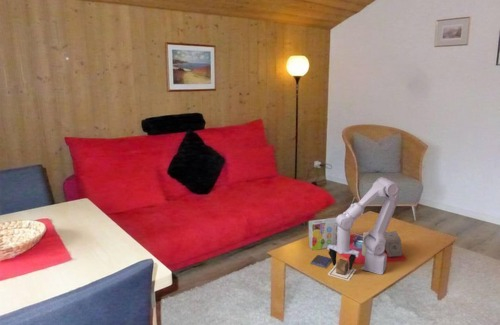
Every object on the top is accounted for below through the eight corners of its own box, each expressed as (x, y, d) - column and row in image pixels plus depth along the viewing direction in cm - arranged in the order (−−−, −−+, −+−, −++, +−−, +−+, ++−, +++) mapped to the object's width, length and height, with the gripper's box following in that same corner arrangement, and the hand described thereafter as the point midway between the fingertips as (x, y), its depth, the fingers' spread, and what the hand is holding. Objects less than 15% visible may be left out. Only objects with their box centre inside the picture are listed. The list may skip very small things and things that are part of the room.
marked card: (356, 270, 175) (356, 269, 175) (348, 281, 166) (348, 280, 166) (336, 264, 180) (336, 263, 180) (327, 274, 171) (327, 274, 171)
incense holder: (381, 248, 195) (382, 230, 193) (397, 249, 194) (398, 230, 192) (384, 257, 186) (386, 238, 183) (402, 258, 185) (403, 239, 182)
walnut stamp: (348, 270, 174) (348, 261, 173) (344, 275, 170) (344, 265, 169) (339, 268, 176) (340, 258, 175) (336, 273, 172) (336, 263, 171)
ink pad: (332, 260, 184) (332, 258, 184) (325, 268, 177) (325, 266, 177) (317, 256, 188) (317, 254, 188) (310, 263, 181) (310, 261, 181)
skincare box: (366, 258, 185) (367, 235, 183) (361, 254, 190) (362, 232, 187) (377, 256, 187) (378, 234, 184) (372, 252, 191) (373, 230, 188)
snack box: (343, 241, 205) (344, 215, 201) (348, 245, 199) (349, 219, 196) (308, 246, 200) (308, 220, 196) (312, 250, 194) (312, 224, 191)
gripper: (325, 239, 170) (324, 266, 173) (356, 247, 162) (354, 275, 165) (330, 234, 175) (330, 260, 179) (361, 241, 168) (359, 268, 171)
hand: (342, 266), depth 172 cm, fingers open, 7 cm apart
